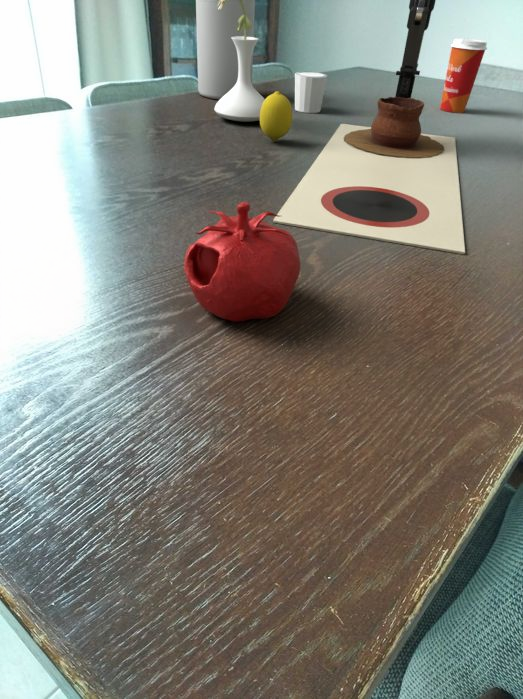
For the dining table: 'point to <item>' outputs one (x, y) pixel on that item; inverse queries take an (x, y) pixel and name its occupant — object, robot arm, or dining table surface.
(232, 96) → the flower in vase
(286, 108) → the lemon
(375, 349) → the dining table surface
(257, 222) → the red tomato
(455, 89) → the paper cup
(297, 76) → the shot glass
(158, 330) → the dining table surface
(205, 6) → the cylinder vase
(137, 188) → the dining table surface
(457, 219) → the cooktop
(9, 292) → the dining table surface
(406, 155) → the ceramic pot
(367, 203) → the front burner
